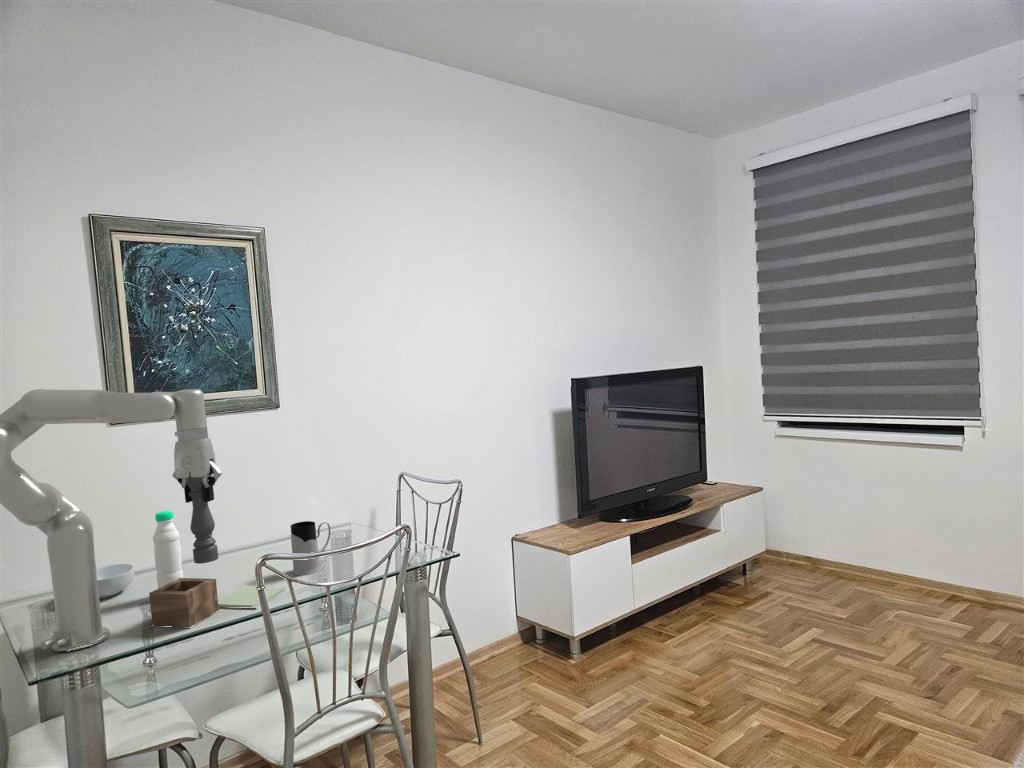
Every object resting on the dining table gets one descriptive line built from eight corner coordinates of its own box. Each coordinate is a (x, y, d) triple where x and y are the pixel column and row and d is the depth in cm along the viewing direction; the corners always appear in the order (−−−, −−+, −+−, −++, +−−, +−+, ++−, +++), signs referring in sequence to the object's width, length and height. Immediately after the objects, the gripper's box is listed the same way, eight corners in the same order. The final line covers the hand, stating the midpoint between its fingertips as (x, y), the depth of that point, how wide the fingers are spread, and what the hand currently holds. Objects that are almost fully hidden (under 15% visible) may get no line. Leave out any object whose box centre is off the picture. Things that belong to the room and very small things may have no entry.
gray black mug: (286, 572, 222) (282, 525, 221) (324, 560, 232) (321, 515, 232) (302, 577, 216) (298, 529, 215) (340, 564, 227) (337, 518, 226)
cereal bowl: (141, 593, 210) (139, 570, 210) (76, 609, 200) (74, 585, 199) (130, 581, 223) (128, 559, 223) (69, 595, 213) (66, 572, 213)
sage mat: (256, 609, 191) (256, 605, 191) (212, 607, 194) (212, 603, 194) (285, 590, 204) (284, 587, 204) (243, 589, 208) (242, 586, 208)
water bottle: (174, 599, 203) (166, 514, 201) (153, 599, 204) (144, 515, 203) (190, 590, 210) (182, 508, 208) (169, 590, 211) (161, 509, 210)
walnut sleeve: (189, 628, 180) (186, 594, 179) (152, 626, 183) (149, 593, 182) (218, 611, 191) (215, 578, 191) (182, 609, 194) (179, 577, 193)
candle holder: (223, 557, 192) (213, 467, 190) (202, 564, 186) (192, 472, 185) (209, 555, 195) (200, 466, 193) (189, 562, 190) (179, 471, 188)
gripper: (155, 438, 187) (163, 505, 188) (210, 436, 183) (218, 504, 184) (175, 434, 194) (183, 498, 195) (229, 431, 190) (236, 497, 191)
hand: (200, 500), depth 190 cm, fingers closed on candle holder, 5 cm apart
